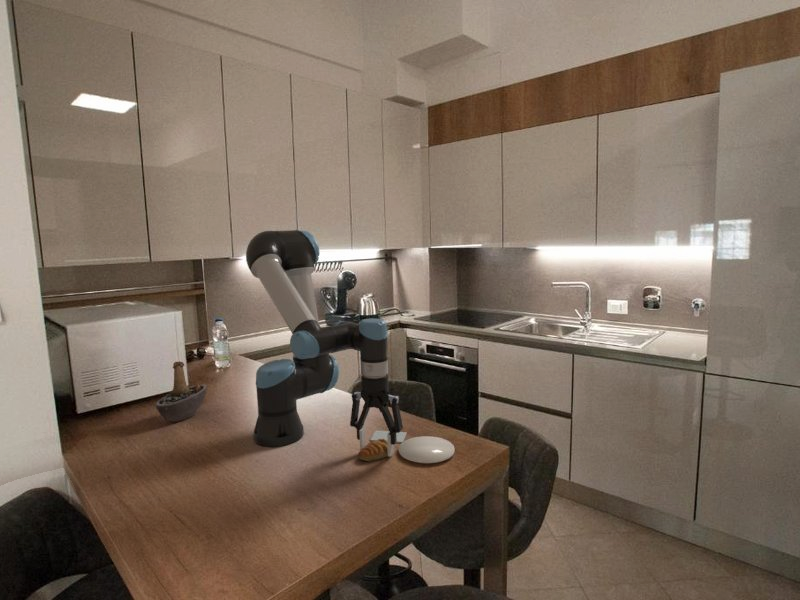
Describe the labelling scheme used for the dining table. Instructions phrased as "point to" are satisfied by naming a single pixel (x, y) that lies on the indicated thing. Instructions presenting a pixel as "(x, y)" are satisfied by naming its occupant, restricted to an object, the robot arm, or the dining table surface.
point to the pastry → (374, 450)
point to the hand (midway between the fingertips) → (376, 452)
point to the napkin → (383, 435)
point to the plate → (426, 449)
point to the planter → (181, 398)
